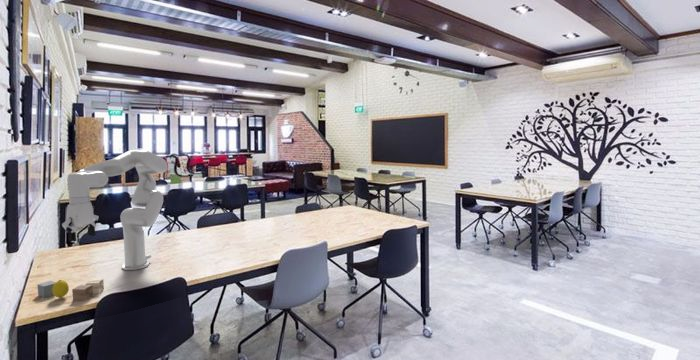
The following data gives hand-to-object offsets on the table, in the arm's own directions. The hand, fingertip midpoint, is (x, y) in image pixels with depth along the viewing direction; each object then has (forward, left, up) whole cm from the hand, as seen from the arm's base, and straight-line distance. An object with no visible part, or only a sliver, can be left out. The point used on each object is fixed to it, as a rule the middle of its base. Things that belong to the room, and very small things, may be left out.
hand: (82, 238), depth 168 cm
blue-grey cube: (+10, -9, -23) cm, 27 cm away
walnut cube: (+10, +9, -23) cm, 27 cm away
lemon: (+12, 0, -23) cm, 26 cm away
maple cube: (+3, +8, -23) cm, 25 cm away
